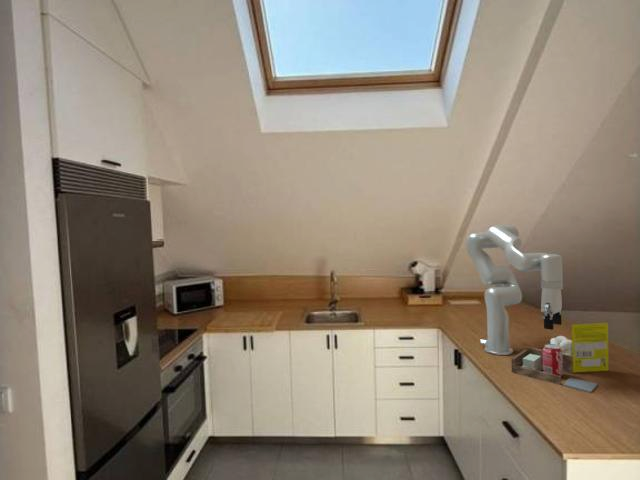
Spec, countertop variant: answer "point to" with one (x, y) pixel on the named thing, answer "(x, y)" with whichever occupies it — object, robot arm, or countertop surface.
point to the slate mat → (580, 384)
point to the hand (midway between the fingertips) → (552, 326)
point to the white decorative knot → (563, 344)
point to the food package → (590, 347)
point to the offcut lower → (535, 367)
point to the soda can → (553, 359)
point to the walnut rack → (518, 362)
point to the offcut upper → (531, 360)
